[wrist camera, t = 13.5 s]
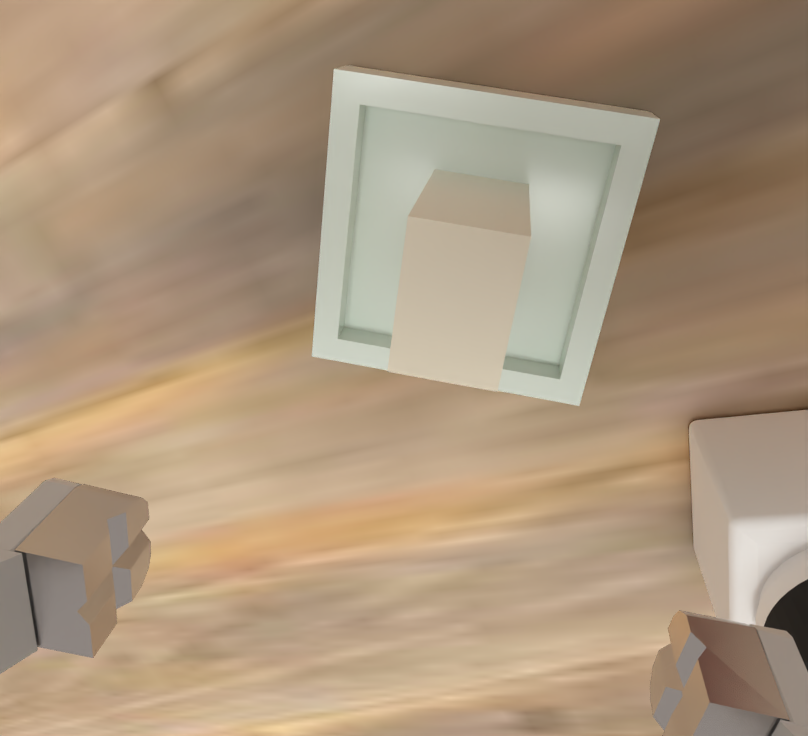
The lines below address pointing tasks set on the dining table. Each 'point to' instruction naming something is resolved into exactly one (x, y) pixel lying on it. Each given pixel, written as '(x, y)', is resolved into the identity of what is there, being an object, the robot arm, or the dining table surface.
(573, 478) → the dining table surface
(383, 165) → the dish
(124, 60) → the dining table surface
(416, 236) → the tall beige block
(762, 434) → the medicine bottle
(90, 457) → the dining table surface
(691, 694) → the robot arm
